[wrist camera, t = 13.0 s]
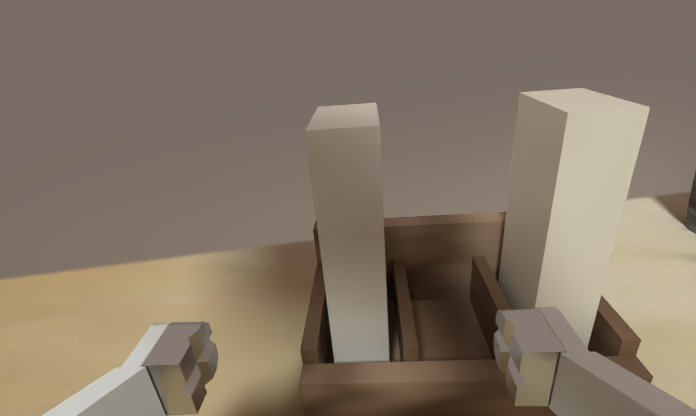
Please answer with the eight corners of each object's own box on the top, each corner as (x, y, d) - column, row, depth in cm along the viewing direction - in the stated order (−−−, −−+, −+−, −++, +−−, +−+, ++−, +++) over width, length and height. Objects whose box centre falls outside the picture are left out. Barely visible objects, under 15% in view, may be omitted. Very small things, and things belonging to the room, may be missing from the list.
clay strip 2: (523, 372, 21) (568, 112, 15) (495, 310, 25) (519, 92, 19) (581, 371, 20) (650, 107, 14) (541, 309, 25) (581, 88, 19)
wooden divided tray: (309, 438, 20) (288, 328, 17) (326, 309, 29) (315, 221, 26) (631, 434, 19) (676, 315, 15) (544, 301, 28) (561, 209, 24)
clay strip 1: (336, 377, 21) (305, 130, 15) (341, 316, 26) (318, 106, 20) (389, 376, 21) (379, 125, 15) (385, 314, 26) (375, 102, 20)
